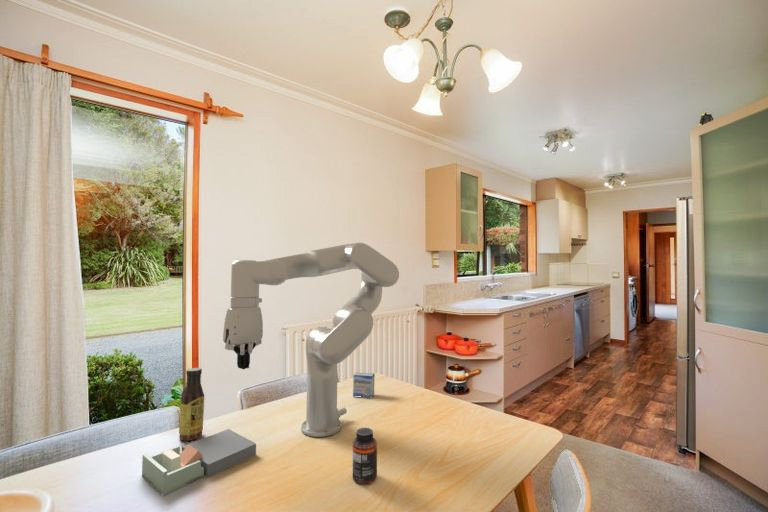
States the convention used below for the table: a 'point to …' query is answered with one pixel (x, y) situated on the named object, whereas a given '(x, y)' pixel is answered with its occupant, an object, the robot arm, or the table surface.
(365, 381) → the medicine box
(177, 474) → the bin
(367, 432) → the supplement bottle
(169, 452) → the cream tile
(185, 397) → the sauce bottle
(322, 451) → the table surface
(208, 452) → the slate board
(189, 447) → the terracotta tile
